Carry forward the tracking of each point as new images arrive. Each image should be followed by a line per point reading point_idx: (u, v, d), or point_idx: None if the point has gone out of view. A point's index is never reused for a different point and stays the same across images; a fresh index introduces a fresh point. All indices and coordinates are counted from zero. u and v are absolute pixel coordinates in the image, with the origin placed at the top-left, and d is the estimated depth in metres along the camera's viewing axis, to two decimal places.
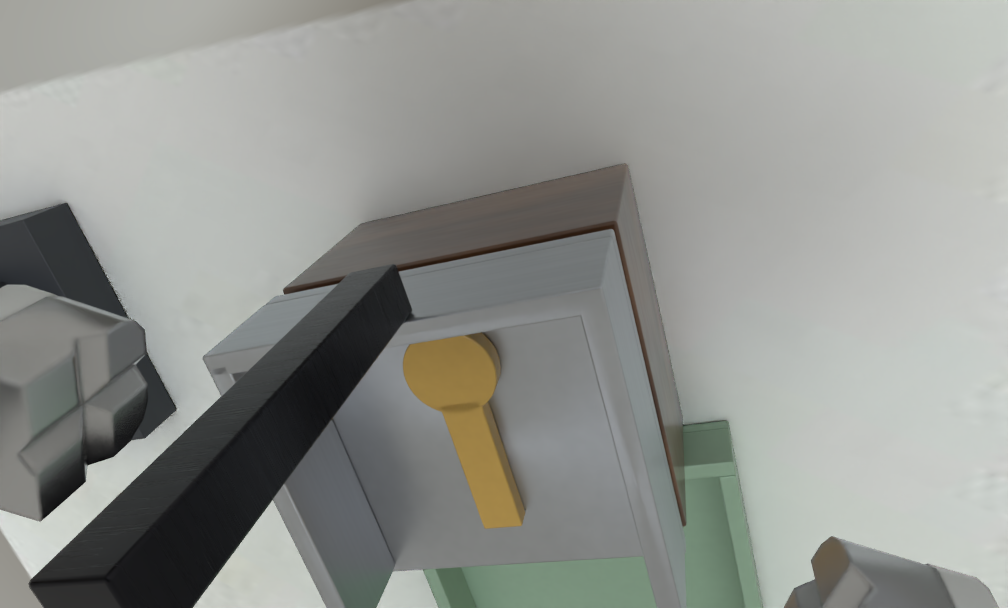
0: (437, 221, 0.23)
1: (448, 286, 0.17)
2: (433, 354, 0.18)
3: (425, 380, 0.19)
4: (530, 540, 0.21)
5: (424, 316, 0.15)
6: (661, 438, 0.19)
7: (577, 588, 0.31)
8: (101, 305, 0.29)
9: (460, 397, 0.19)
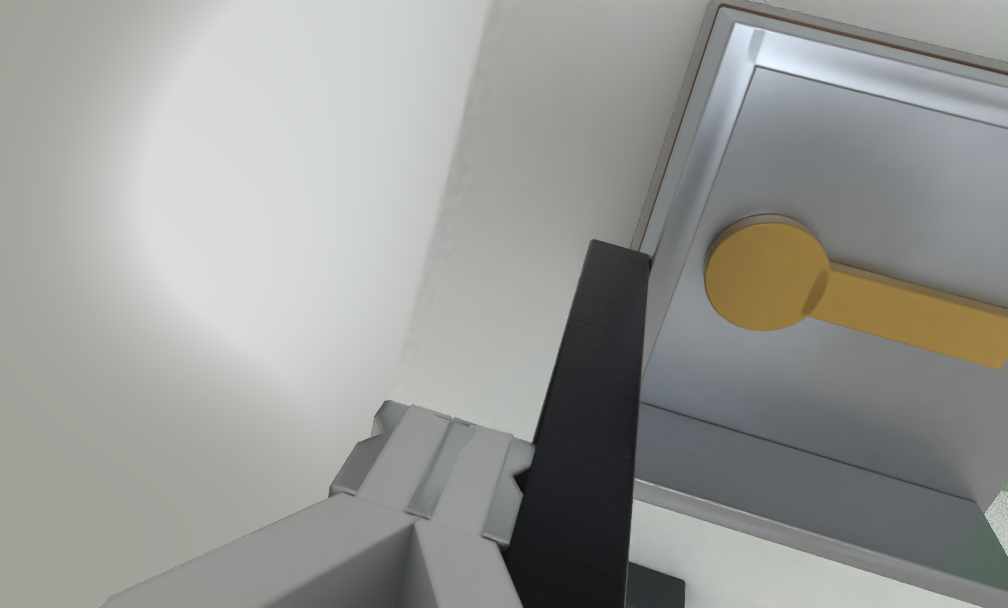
0: (644, 212, 0.21)
1: (660, 211, 0.14)
2: (733, 280, 0.15)
3: (758, 308, 0.16)
4: None
5: (657, 242, 0.13)
6: None
7: None
8: None
9: (802, 285, 0.15)
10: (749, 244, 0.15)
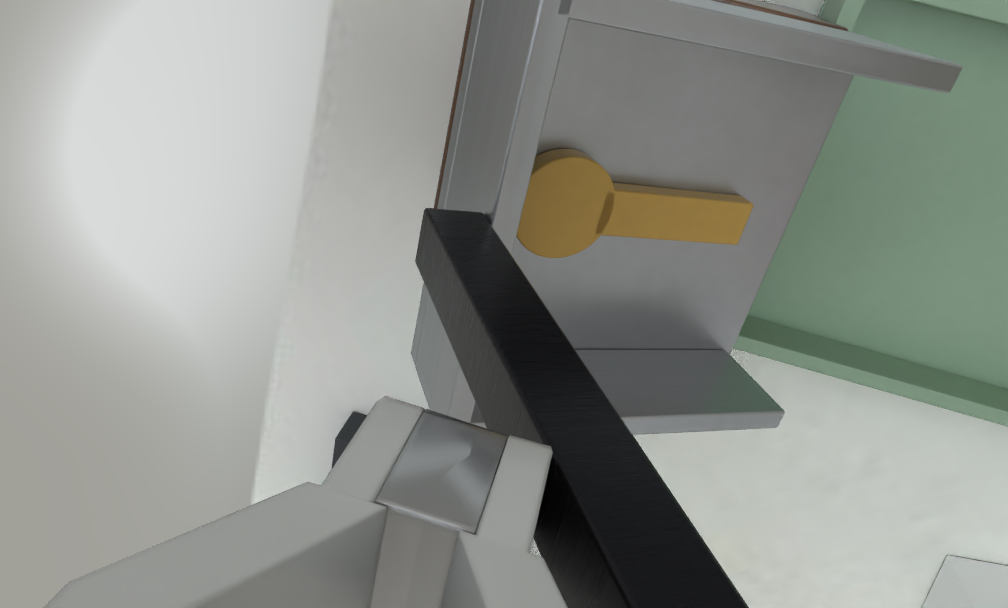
0: None
1: (473, 165, 0.14)
2: (538, 217, 0.16)
3: (561, 237, 0.17)
4: (770, 203, 0.19)
5: (494, 200, 0.13)
6: (737, 6, 0.16)
7: (957, 241, 0.25)
8: None
9: (594, 209, 0.17)
10: (548, 181, 0.16)
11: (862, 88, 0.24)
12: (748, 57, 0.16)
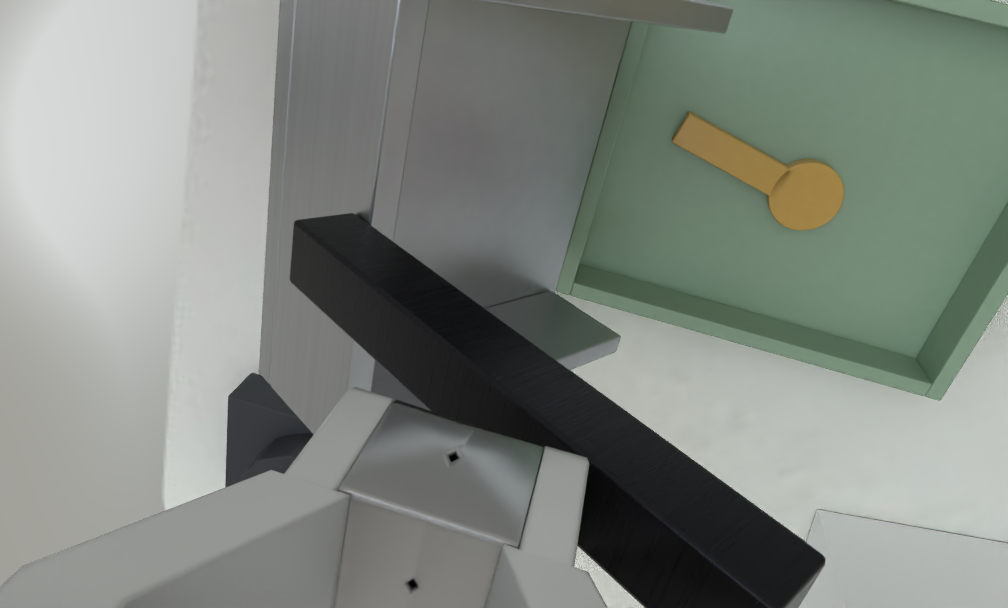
0: None
1: (323, 160, 0.13)
2: None
3: None
4: (576, 148, 0.20)
5: (370, 199, 0.12)
6: None
7: None
8: None
9: None
10: None
11: (689, 45, 0.25)
12: (550, 10, 0.17)
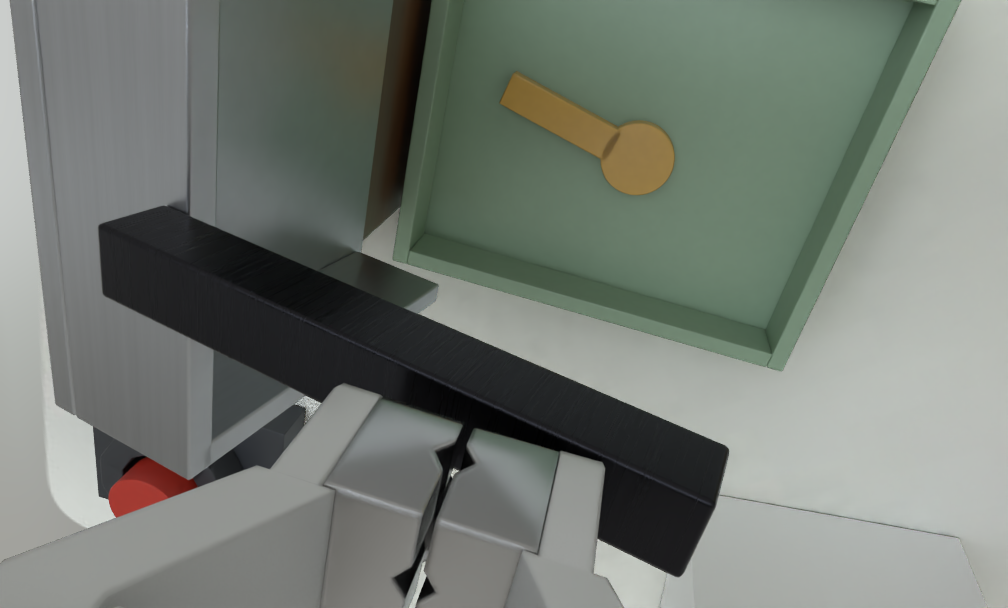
0: None
1: (107, 149, 0.11)
2: None
3: None
4: (363, 100, 0.19)
5: (185, 187, 0.11)
6: None
7: None
8: None
9: None
10: None
11: (509, 2, 0.24)
12: None
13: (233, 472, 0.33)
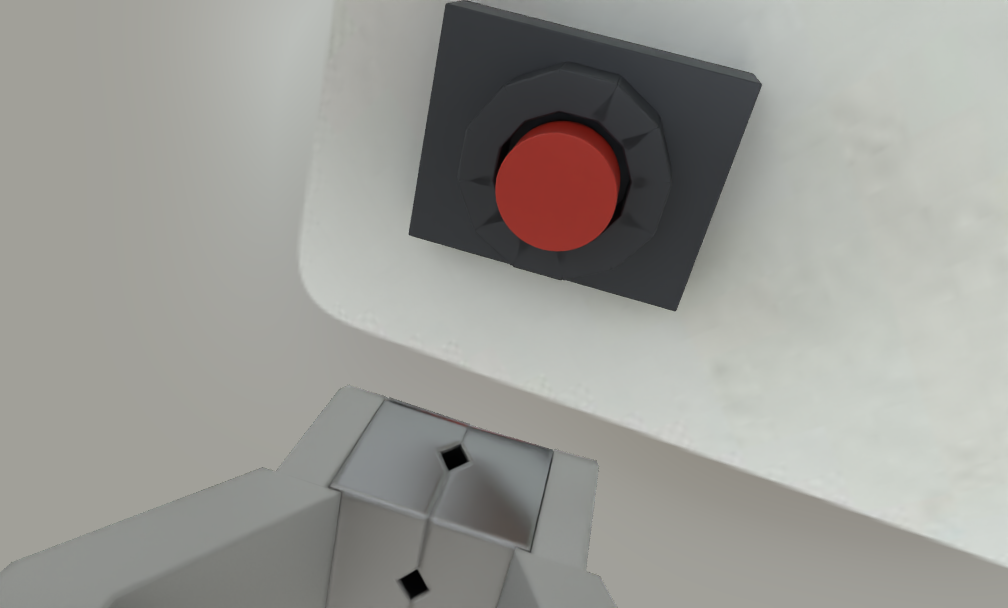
0: None
1: None
2: None
3: None
4: None
5: None
6: None
7: None
8: (581, 32, 0.23)
9: None
10: None
11: None
12: None
13: (667, 153, 0.22)
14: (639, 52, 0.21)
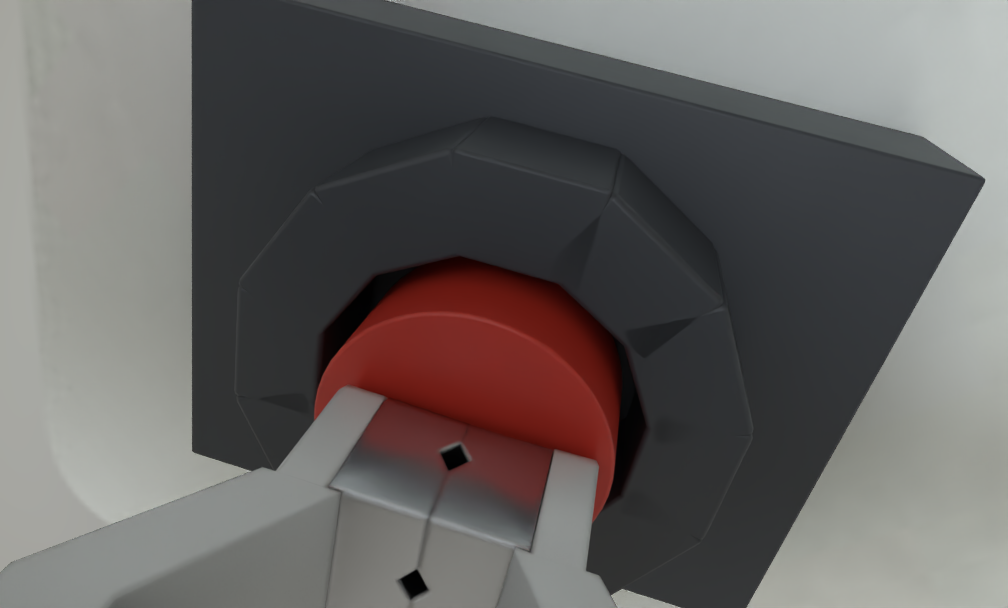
0: None
1: None
2: None
3: None
4: None
5: None
6: None
7: None
8: (527, 44, 0.10)
9: None
10: None
11: None
12: None
13: (736, 343, 0.09)
14: (667, 96, 0.08)
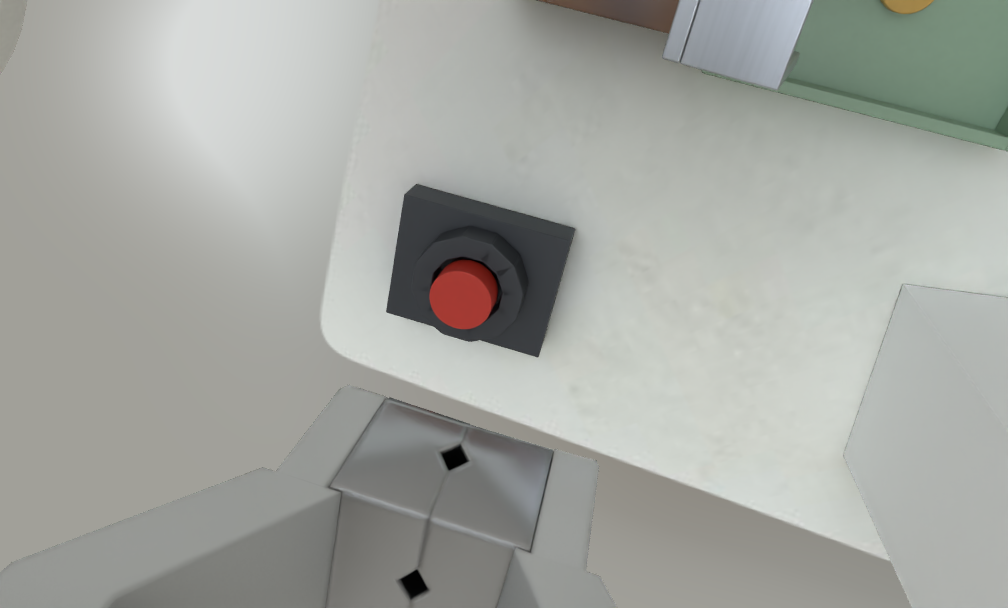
0: None
1: None
2: None
3: None
4: None
5: None
6: None
7: None
8: (479, 206, 0.41)
9: None
10: None
11: None
12: None
13: (523, 275, 0.40)
14: (507, 222, 0.40)
